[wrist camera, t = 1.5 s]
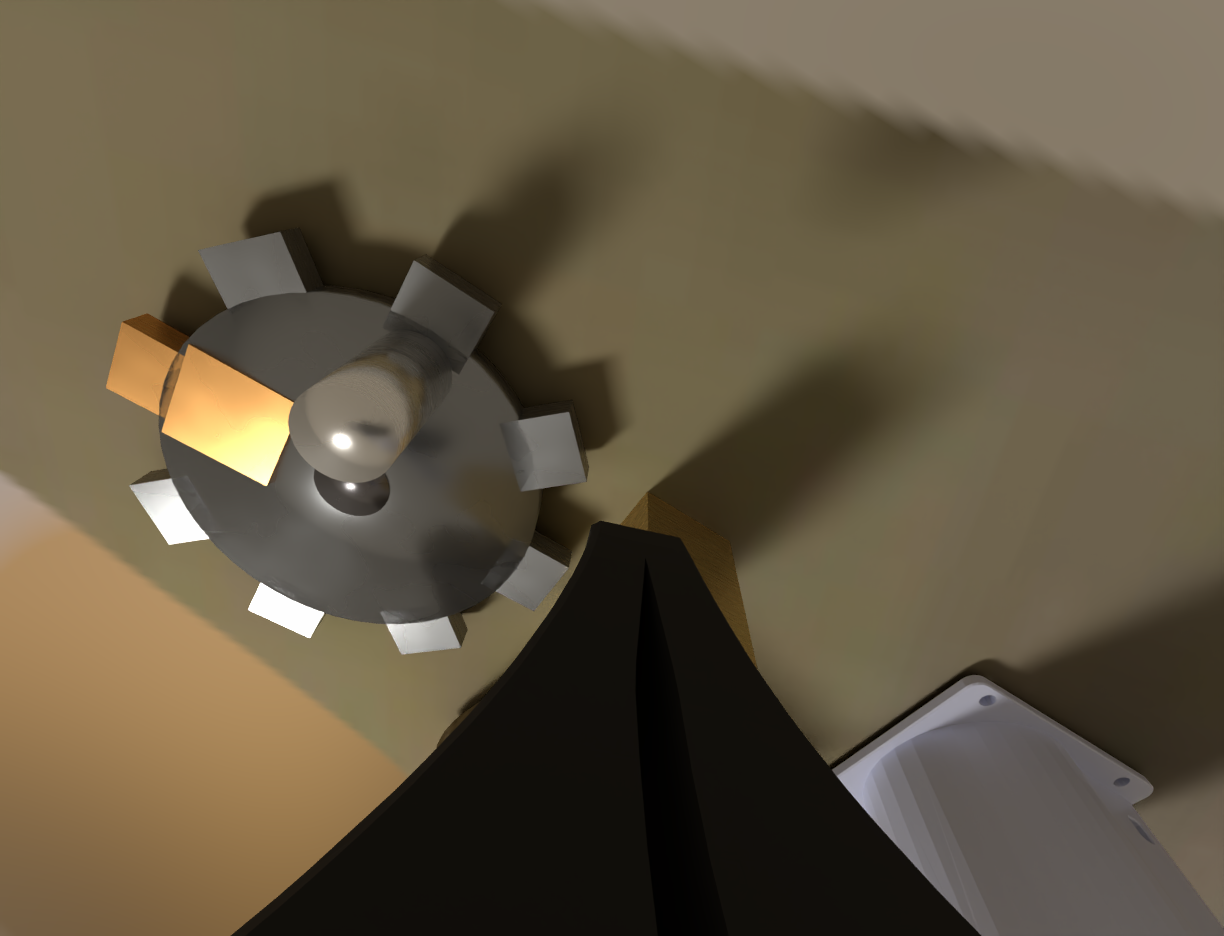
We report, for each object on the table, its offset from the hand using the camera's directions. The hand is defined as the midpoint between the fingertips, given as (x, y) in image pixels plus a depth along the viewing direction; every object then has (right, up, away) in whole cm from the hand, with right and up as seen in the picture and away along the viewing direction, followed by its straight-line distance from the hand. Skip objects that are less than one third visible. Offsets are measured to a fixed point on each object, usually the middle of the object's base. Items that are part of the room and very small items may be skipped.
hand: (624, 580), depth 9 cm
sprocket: (-7, +2, +8) cm, 11 cm away
